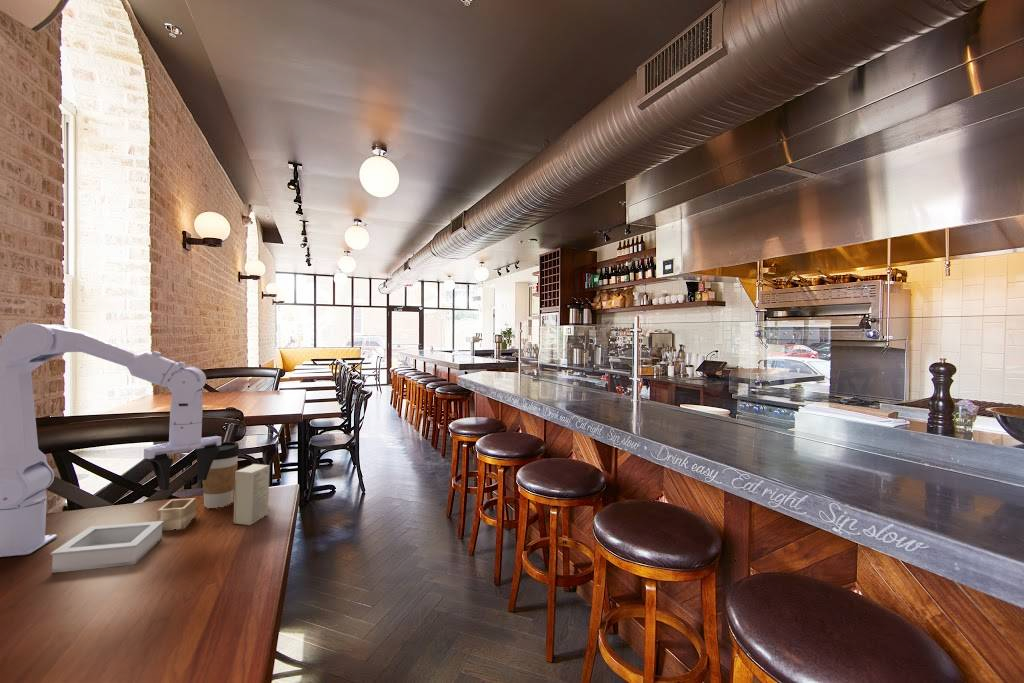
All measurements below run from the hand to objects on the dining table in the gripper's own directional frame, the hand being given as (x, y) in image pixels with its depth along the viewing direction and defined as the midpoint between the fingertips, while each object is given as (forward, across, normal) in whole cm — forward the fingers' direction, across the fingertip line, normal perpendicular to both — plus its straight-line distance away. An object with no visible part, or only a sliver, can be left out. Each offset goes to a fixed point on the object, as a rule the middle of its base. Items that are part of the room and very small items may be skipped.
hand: (183, 484), depth 96 cm
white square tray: (+10, -13, 0) cm, 16 cm away
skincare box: (+10, +10, -8) cm, 17 cm away
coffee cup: (+10, +13, +8) cm, 18 cm away
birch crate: (+10, +1, +4) cm, 11 cm away
